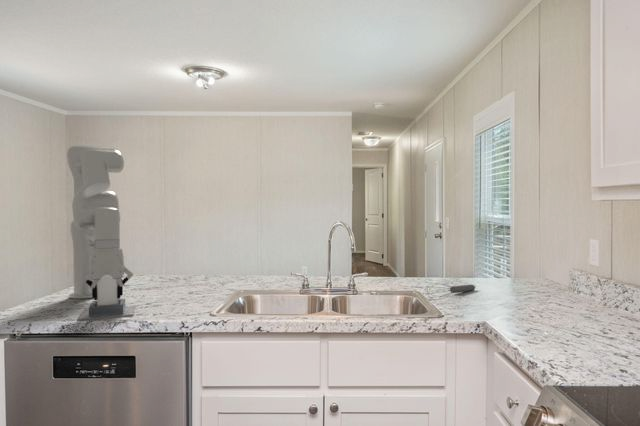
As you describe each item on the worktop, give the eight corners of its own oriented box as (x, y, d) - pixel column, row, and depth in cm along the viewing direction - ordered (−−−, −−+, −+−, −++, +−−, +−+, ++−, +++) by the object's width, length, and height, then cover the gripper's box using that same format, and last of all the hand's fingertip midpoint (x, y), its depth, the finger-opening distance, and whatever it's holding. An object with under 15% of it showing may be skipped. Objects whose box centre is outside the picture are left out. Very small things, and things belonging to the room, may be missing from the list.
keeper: (84, 311, 145) (84, 300, 145) (135, 306, 151) (135, 296, 151) (76, 320, 132) (76, 309, 132) (133, 315, 138) (132, 304, 138)
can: (122, 305, 145) (122, 270, 144) (111, 310, 138) (111, 273, 138) (104, 305, 145) (104, 270, 145) (92, 309, 139) (92, 273, 139)
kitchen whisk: (481, 291, 177) (481, 275, 177) (434, 303, 155) (434, 286, 155) (468, 289, 182) (468, 274, 182) (420, 300, 160) (420, 284, 160)
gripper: (75, 246, 135) (76, 303, 135) (135, 244, 141) (135, 298, 141) (79, 244, 142) (80, 298, 142) (136, 243, 148) (136, 294, 148)
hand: (107, 298), depth 142 cm, fingers closed on can, 6 cm apart
